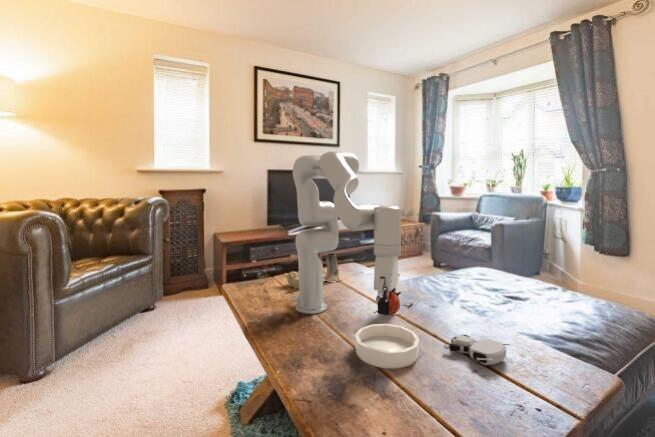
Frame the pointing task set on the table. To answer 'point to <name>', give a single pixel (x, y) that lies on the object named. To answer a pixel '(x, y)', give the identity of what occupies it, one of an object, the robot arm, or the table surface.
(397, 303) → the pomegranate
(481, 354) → the robot toy
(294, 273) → the cat figurine
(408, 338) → the fruit bowl
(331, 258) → the tree stump
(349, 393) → the table surface
